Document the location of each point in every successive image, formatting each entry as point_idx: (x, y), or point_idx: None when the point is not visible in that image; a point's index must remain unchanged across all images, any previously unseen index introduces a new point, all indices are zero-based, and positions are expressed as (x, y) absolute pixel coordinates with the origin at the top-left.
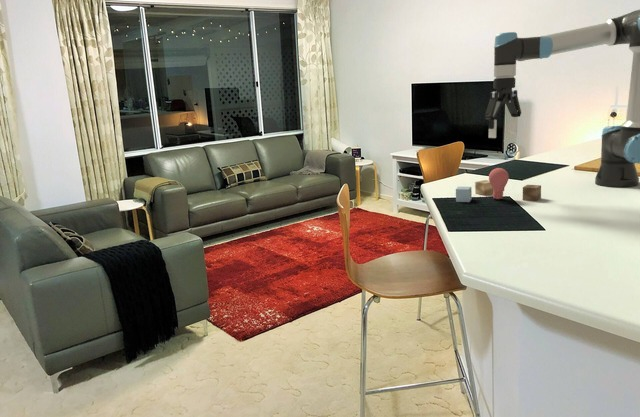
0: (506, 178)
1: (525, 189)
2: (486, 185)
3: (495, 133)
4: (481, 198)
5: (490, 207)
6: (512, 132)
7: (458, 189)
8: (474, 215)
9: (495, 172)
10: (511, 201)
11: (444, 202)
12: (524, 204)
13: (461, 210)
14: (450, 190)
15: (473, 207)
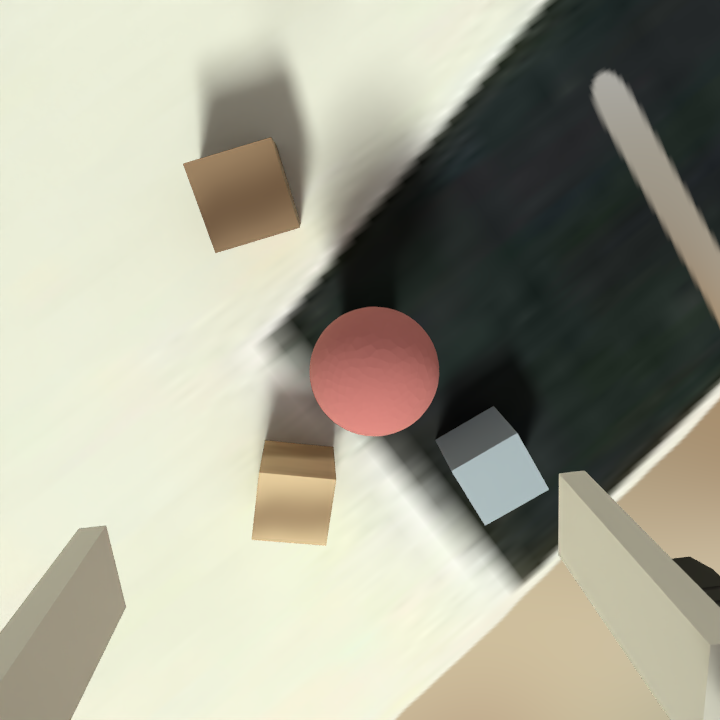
0: (376, 308)
1: (294, 209)
2: (317, 470)
3: (603, 500)
4: None
5: (534, 249)
6: (106, 581)
7: (541, 477)
8: (708, 204)
9: (429, 373)
10: (363, 250)
11: None
12: (382, 149)
13: (655, 318)
14: (338, 639)
15: (577, 315)
